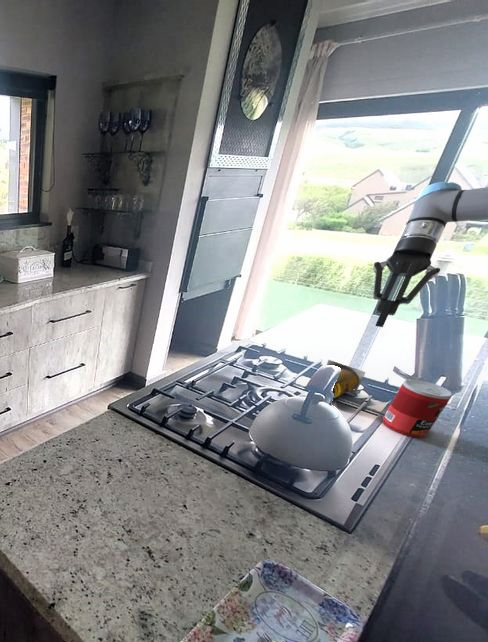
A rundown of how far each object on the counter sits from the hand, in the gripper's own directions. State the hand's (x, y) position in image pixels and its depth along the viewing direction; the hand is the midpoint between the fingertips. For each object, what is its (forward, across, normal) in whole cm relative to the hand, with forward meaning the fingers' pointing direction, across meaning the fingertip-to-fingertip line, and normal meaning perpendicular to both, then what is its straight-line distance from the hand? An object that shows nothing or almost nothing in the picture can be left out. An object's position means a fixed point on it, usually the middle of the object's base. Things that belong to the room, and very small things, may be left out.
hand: (379, 324), depth 106 cm
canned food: (+26, +12, -6) cm, 29 cm away
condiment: (+16, -3, +1) cm, 16 cm away
